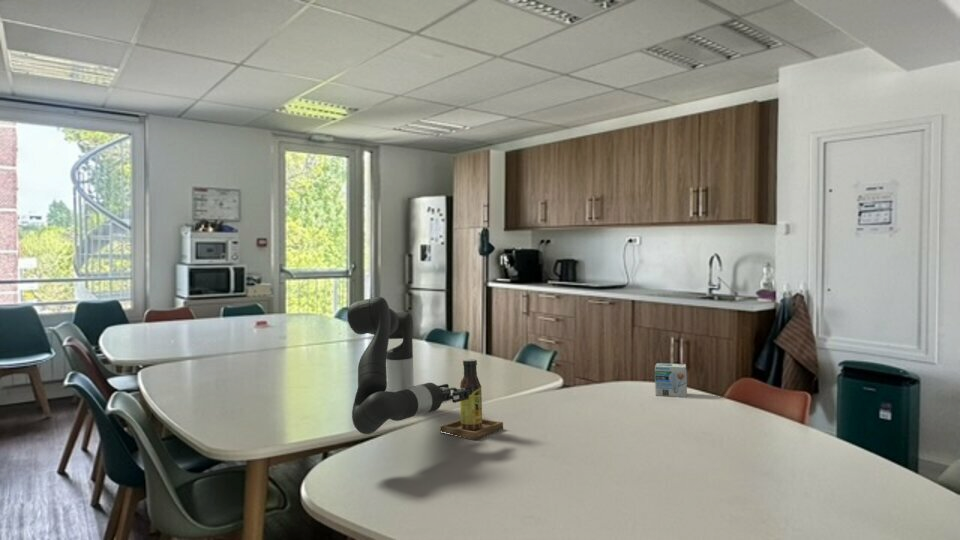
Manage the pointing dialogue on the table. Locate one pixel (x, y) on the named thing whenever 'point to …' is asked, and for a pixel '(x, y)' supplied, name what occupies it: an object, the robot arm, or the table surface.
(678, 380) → the light bulb box
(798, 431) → the table surface
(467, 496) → the table surface
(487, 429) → the walnut tray
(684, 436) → the table surface
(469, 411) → the sauce bottle
